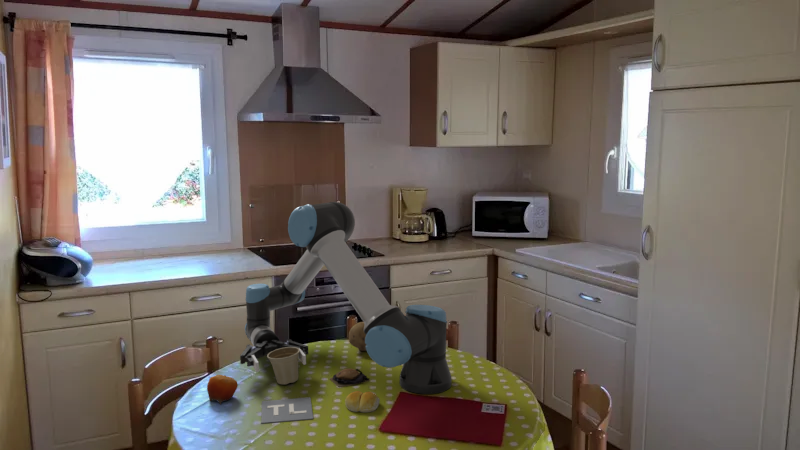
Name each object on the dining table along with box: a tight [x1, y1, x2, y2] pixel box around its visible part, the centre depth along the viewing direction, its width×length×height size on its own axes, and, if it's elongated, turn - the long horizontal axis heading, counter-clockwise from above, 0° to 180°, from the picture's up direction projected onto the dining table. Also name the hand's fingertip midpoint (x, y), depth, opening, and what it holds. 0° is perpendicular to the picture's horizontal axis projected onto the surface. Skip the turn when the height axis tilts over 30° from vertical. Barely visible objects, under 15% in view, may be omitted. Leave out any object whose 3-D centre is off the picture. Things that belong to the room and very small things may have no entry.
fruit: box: [206, 374, 239, 406], centre depth 168 cm, size 8×8×8 cm
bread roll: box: [344, 390, 381, 414], centre depth 164 cm, size 8×9×4 cm
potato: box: [348, 321, 367, 352], centre depth 206 cm, size 9×9×10 cm
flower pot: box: [266, 347, 300, 385], centre depth 180 cm, size 9×9×9 cm
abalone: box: [329, 367, 371, 388], centre depth 182 cm, size 11×8×4 cm
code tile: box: [260, 396, 314, 424], centre depth 162 cm, size 13×13×1 cm
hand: (281, 363), depth 174 cm, fingers open, 13 cm apart
